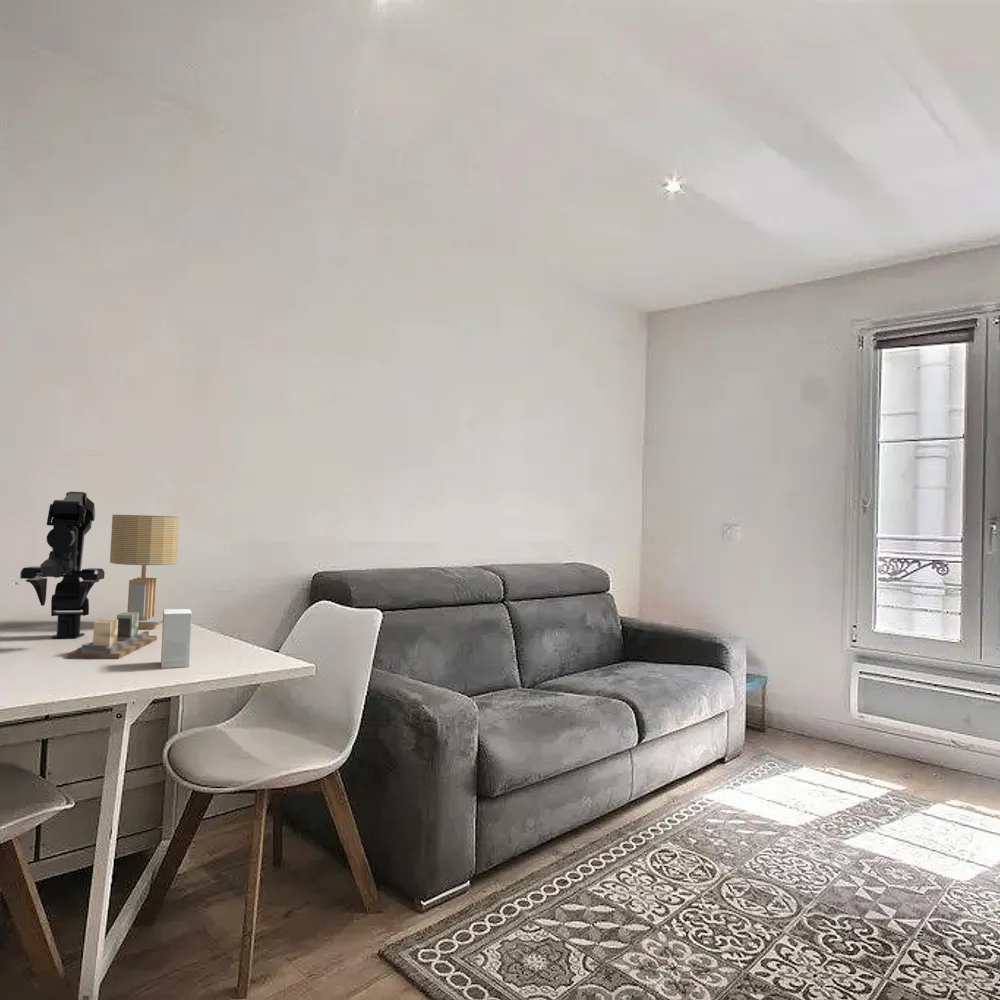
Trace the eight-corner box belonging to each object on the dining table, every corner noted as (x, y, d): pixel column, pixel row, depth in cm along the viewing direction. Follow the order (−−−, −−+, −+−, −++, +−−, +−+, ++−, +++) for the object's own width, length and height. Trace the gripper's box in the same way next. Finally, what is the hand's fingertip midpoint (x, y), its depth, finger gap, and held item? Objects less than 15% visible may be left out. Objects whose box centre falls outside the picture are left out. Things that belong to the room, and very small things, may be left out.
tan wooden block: (101, 646, 189) (102, 619, 189) (117, 646, 190) (118, 619, 190) (92, 649, 184) (93, 622, 184) (109, 650, 184) (110, 622, 185)
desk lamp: (166, 630, 225) (172, 517, 226) (97, 630, 221) (103, 514, 222) (180, 621, 244) (185, 516, 245) (116, 621, 240) (122, 514, 241)
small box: (160, 661, 179) (163, 609, 179) (188, 660, 182) (191, 608, 182) (160, 668, 172) (163, 613, 172) (189, 667, 174) (192, 612, 175)
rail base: (112, 639, 207) (113, 610, 207) (156, 639, 208) (157, 611, 209) (67, 658, 179) (69, 624, 179) (119, 658, 181) (120, 625, 181)
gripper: (11, 547, 184) (7, 609, 183) (90, 550, 187) (86, 611, 186) (32, 545, 195) (29, 603, 194) (106, 548, 198) (103, 605, 197)
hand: (61, 606), depth 193 cm, fingers open, 9 cm apart
